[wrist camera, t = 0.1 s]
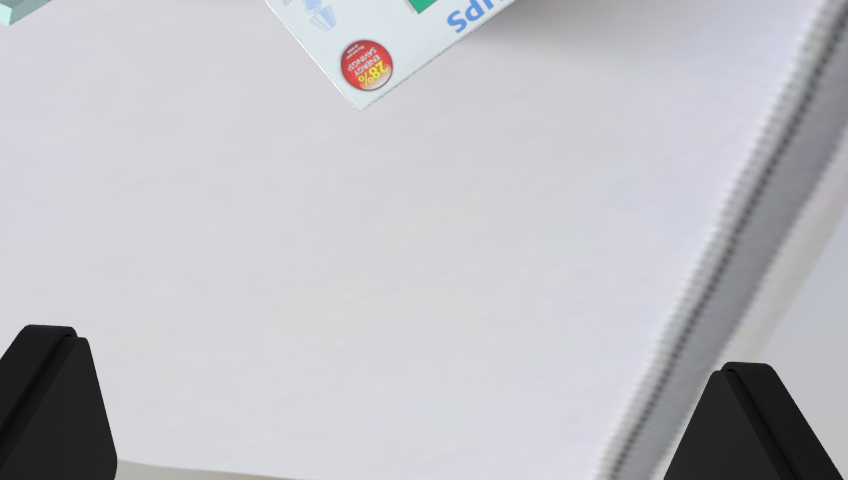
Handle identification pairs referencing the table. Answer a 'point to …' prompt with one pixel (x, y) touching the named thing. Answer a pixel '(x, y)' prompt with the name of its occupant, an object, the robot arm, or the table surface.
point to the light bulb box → (379, 37)
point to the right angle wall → (18, 9)
